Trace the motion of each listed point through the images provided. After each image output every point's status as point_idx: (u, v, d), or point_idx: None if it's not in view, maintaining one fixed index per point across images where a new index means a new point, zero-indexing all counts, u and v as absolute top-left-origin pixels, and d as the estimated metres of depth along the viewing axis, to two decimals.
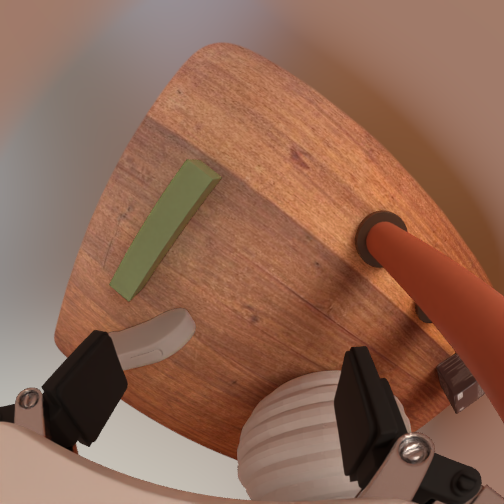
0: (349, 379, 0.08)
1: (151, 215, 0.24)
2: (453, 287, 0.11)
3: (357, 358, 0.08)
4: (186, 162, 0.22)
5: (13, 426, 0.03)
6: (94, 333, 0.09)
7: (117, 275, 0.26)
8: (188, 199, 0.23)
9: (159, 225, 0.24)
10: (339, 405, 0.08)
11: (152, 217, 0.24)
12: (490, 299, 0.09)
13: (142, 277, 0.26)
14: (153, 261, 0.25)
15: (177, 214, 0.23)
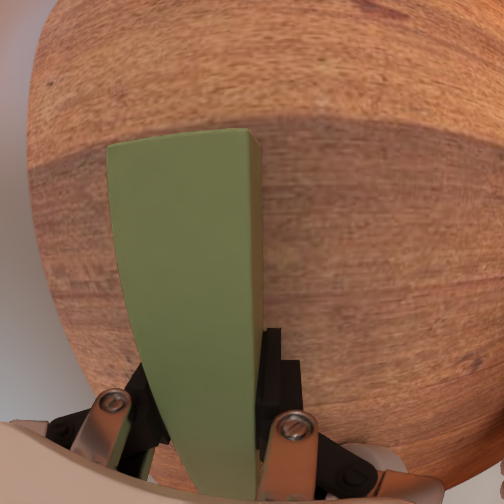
0: None
1: (155, 385, 0.06)
2: None
3: (266, 337, 0.09)
4: (110, 157, 0.05)
5: (13, 426, 0.03)
6: None
7: (202, 488, 0.09)
8: (213, 274, 0.05)
9: (196, 397, 0.06)
10: None
11: (162, 389, 0.06)
12: None
13: (252, 480, 0.08)
14: (253, 458, 0.07)
15: (223, 347, 0.06)
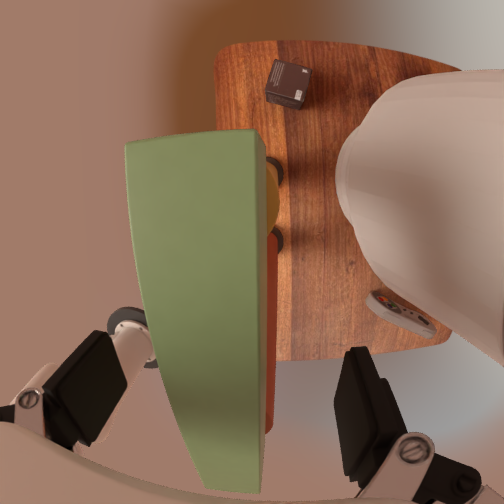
0: (349, 379, 0.08)
1: (166, 370, 0.07)
2: None
3: (357, 358, 0.08)
4: (129, 153, 0.05)
5: (13, 426, 0.03)
6: (94, 333, 0.09)
7: (206, 478, 0.09)
8: (224, 261, 0.06)
9: (205, 381, 0.07)
10: (339, 405, 0.08)
11: (172, 373, 0.07)
12: None
13: (256, 468, 0.09)
14: (257, 444, 0.08)
15: (231, 329, 0.06)
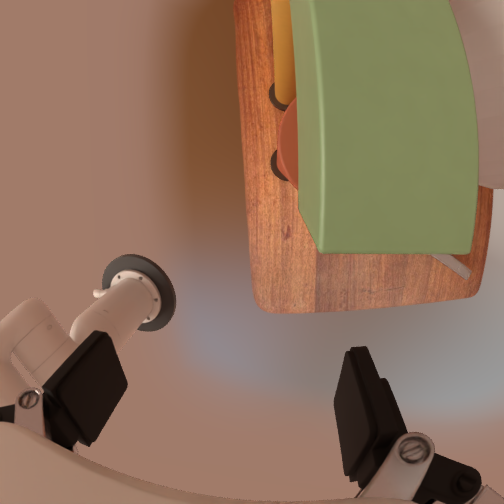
0: (349, 379, 0.08)
1: None
2: None
3: (357, 358, 0.08)
4: None
5: (13, 426, 0.03)
6: (94, 333, 0.09)
7: (346, 128, 0.03)
8: None
9: None
10: (339, 405, 0.08)
11: None
12: None
13: (461, 49, 0.02)
14: None
15: None
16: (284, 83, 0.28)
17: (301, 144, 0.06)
